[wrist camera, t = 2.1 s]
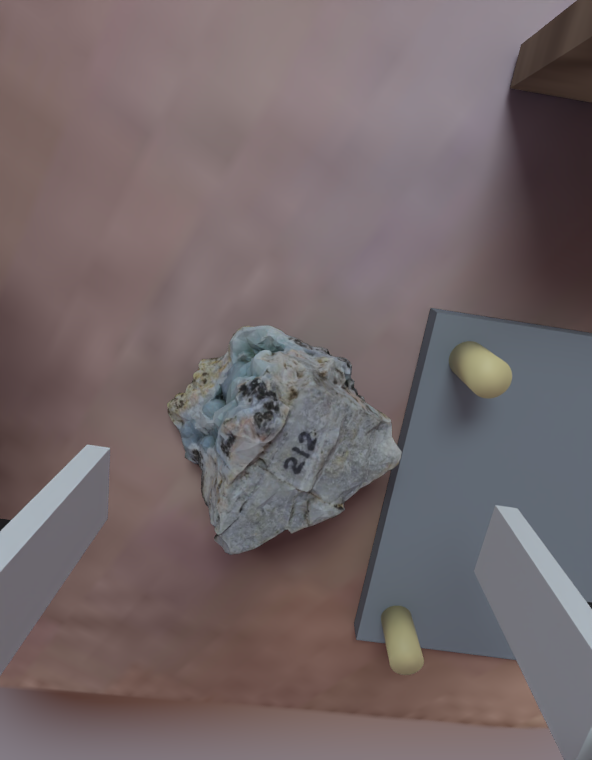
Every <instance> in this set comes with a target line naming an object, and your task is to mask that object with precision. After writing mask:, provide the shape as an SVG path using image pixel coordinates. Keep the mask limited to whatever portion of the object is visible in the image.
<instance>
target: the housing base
mask: <svg viewBox="0 0 592 760" xmlns="http://www.w3.org/2000/svg"><path fill="white" fill-rule="evenodd" d="M397 446H398V448H399V449H400V450H401V451H402V454H401V459H400V461H399V464H398V465H397V466H395V467H394V468H393V469H392V470H391V474H390V478H389V482H388V486H387V490H386V494H385V499H384V503H383V507H382V511H381V515H380V519H379V523H378V527H377V532H376V536H375V540H374V544H373V548H372V552H371V556H370V560H369V565H368V569H367V573H366V577H365V581H364V585H363V589H362V593H361V598H360V602H359V606H358V610H357V614H356V618H355V622H354V626H355V634H356V640H363V641H371V642H379V643H386V648H387V653H388V658H389V663H390V667H391V668H392V670H393V671H394V672H396V673H398V674H401V675H411V674H414V673H416V672H418V671H419V670H420V669H421V668H422V666H423V664H424V659H423V655H422V651H421V648H426V649H434V650H442V651H450V652H458V653H465V654H473V655H481V656H489V657H497V658H505V659H513V660H516V658H515V656H514V654H513V652H512V650H511V648H510V646H509V644H508V642H507V640H506V637H505V635H504V633H503V631H502V629H501V627H500V625H499V623H498V621H497V619H496V616H495V614H494V612H493V610H492V608H491V606H490V604H489V602H488V600H487V598H486V596H485V593H484V591H483V589H482V587H481V585H480V583H479V581H478V579H477V577H476V575H475V573H474V570H475V566H476V563H477V560H478V557H479V554H480V551H481V548H482V545H483V542H484V539H485V536H486V532H487V529H488V526H489V523H490V520H491V517H492V514H493V511H494V508H495V505H499V506H505V507H512V508H518V510H519V511H520V512H521V514H522V515H523V517H524V518H525V519H526V521H527V522H528V523H529V525H530V526H531V527H532V529H533V530H534V531H535V533H536V534H537V536H538V537H539V538H540V540H541V541H542V542H543V544H544V545H545V546H546V548H547V549H548V550H549V552H550V553H551V555H552V556H553V557H554V559H555V560H556V561H557V563H558V564H559V565H560V567H561V568H562V569H563V571H564V572H565V574H566V575H567V576H568V578H569V579H570V580H571V582H572V583H573V584H574V586H575V587H576V588H577V590H578V591H579V592H580V594H581V595H582V597H583V598H584V599H585V601H586V602H592V333H588V332H582V331H575V330H569V329H562V328H556V327H549V326H543V325H537V324H530V323H524V322H517V321H511V320H504V319H498V318H492V317H485V316H479V315H472V314H466V313H459V312H453V311H446V310H440V309H434V308H431V309H430V313H429V317H428V321H427V325H426V330H425V334H424V338H423V342H422V346H421V350H420V354H419V358H418V363H417V367H416V371H415V375H414V379H413V383H412V387H411V391H410V396H409V400H408V404H407V408H406V412H405V416H404V420H403V424H402V428H401V433H400V437H399V441H398V445H397Z"/></svg>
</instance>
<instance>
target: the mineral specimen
mask: <svg viewBox="0 0 592 760" xmlns="http://www.w3.org/2000/svg"><path fill="white" fill-rule="evenodd" d="M198 366H199V369H198V371H197V372H195V373H194V375H193V381H192V384H189V385H188V386H187V389H186V393H179V394H177V395H176V396H175V398H174V399H172V400H171V401H169V403H168V404H167V406H168V414H169V416H170V418H171V420H172V422H173V423H174V424H175V425H176V426H177V429H178V430H179V432H180V434H181V438H182V443H183V446H184V449H185V452H186V453H185V458H186V459H188V460H190V461H191V462H193V463H194V464H199V467H200V468H201V470H202V477H201V492H202V497H203V498H204V501H205V504H206V505H207V506H208V508H209V514H210V520H211V524H212V525H213V526H215V532H216V536H215V537H214V540H215V541H216V542H217V543H218V544H219V545H220V546H222V547H223V549H224V551H225V552H226V553H228V554H231V555H232V554H239V553H242V552H245V551H248V550H252V549H255V548H257V547H259V546H260V545H262V544H263V543H265V542H267V541H268V540H270V539H272V538H274V537H275V536H277V535H278V534H280V533H281V532H283V531H284V530H287V529H288V530H289V531H290V532H291V533H294V532H296V531H298V530H301V529H303V528H305V527H309V526H313V525H316V524H318V523H320V522H322V521H325V520H327V519H330V518H333V517H335V516H337V515H338V514H340V513H341V512H343V511H344V510H345V508H344V502H345V501H346V500H348V499H349V498H350V497H351V496H353V495H354V494H355V493H356V492H357V491H358V490H359V489H360V488H362V487H364V486H366V485H368V484H370V483H371V482H372V481H373V480H375V479H377V478H379V477H381V476H383V475H384V474H385V473H386V472H387V471H389V470H391V469H393V468H394V467H395V466H397V465H398V464H399V461H400V459H401V454H402V451H401V450H400V449H399V448H398V446H397V445H396V444H395V442H394V440H393V438H392V425H391V420H390V419H389V418H388V417H387V416H386V415H384V414H383V413H381V412H379V411H378V410H376V409H374V408H373V407H371V406H370V405H368V404H367V403H366V402H365V400H364V397H362V396H360V395H358V393H357V390H356V389H355V388H354V381H353V379H351V371H352V365H351V364H350V362H349V361H348V360H347V359H346V358H341V357H334V356H332V355H330V354H329V351H328V349H326V348H322V347H312V346H310V345H308V344H306V343H304V342H303V341H301V340H299V339H297V338H294V337H291V336H288V335H285V334H284V333H283V332H282V331H281V330H279V329H276V328H274V327H272V326H257V327H252V326H243V327H241V328H240V329H238V330H237V332H236V333H235V334H233V337H232V339H231V341H230V343H229V345H228V352H227V353H226V354H225V355H224V356H222V357H220V358H211V359H202V360H201V361H200V363H199V365H198Z"/></svg>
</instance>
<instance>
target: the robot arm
mask: <svg viewBox="0 0 592 760" xmlns="http://www.w3.org/2000/svg"><path fill="white" fill-rule="evenodd" d="M109 466H110V448H107V447H100V446H93V445H86V446H85V447H84V448H83V449H82V450H81V451H80V452H79V453H78V454H77V455H76V456H75V457H74V458H73V459H72V460H71V461H70V462H69V463H68V464H67V465H66V466H65V467H64V468H63V469H62V470H61V471H60V472H59V473H58V474H57V475H56V476H55V477H54V478H53V479H52V480H51V481H50V482H49V483H48V484H47V485H46V486H45V487H44V488H43V489H42V490H41V491H40V492H39V493H38V494H37V495H36V496H35V497H34V498H33V499H32V500H31V501H30V502H29V503H28V504H27V505H26V506H25V507H24V508H23V509H22V510H21V511H20V512H19V513H18V514H17V515H16V516H15V517H14V518H13V519H12V520H6V519H0V675H1V674H2V672H3V671H4V669H5V668H6V667H7V665H8V664H9V662H10V661H11V659H12V658H13V656H14V655H15V653H16V652H17V650H18V649H19V647H20V646H21V645H22V643H23V642H24V640H25V639H26V637H27V636H28V634H29V633H30V631H31V630H32V628H33V627H34V626H35V624H36V623H37V621H38V620H39V618H40V617H41V615H42V614H43V612H44V611H45V609H46V608H47V606H48V605H49V604H50V602H51V601H52V599H53V598H54V596H55V595H56V593H57V592H58V590H59V589H60V587H61V586H62V584H63V583H64V582H65V580H66V579H67V577H68V576H69V574H70V573H71V571H72V570H73V568H74V567H75V565H76V564H77V563H78V561H79V560H80V558H81V557H82V555H83V554H84V552H85V551H86V549H87V548H88V546H89V545H90V543H91V542H92V541H93V539H94V538H95V536H96V535H97V533H98V532H99V530H100V529H101V527H102V526H103V524H104V523H105V521H106V520H107V519H108V494H109ZM474 573H475V575H476V577H477V579H478V581H479V583H480V585H481V587H482V589H483V591H484V593H485V596H486V598H487V600H488V602H489V604H490V606H491V608H492V610H493V612H494V614H495V616H496V619H497V621H498V623H499V625H500V627H501V629H502V631H503V633H504V635H505V637H506V640H507V642H508V644H509V646H510V648H511V650H512V652H513V654H514V656H515V658H516V660H517V663H518V665H519V667H520V669H521V671H522V673H523V675H524V677H525V679H526V681H527V683H528V686H529V688H530V690H531V692H532V694H533V696H534V698H535V700H536V702H537V704H538V706H539V709H540V711H541V713H542V715H543V717H544V719H545V721H546V723H547V725H548V727H549V729H550V732H551V734H552V736H553V738H554V740H555V742H556V744H557V746H558V748H559V750H560V753H561V755H562V757H563V759H564V760H592V602H586V601H585V599H584V598H583V597H582V595H581V594H580V592H579V591H578V590H577V588H576V587H575V586H574V584H573V583H572V582H571V580H570V579H569V578H568V576H567V575H566V574H565V572H564V571H563V569H562V568H561V567H560V565H559V564H558V563H557V561H556V560H555V559H554V557H553V556H552V555H551V553H550V552H549V550H548V549H547V548H546V546H545V545H544V544H543V542H542V541H541V540H540V538H539V537H538V536H537V534H536V533H535V531H534V530H533V529H532V527H531V526H530V525H529V523H528V522H527V521H526V519H525V518H524V517H523V515H522V514H521V512H520V511H519V510H518V508H512V507H505V506H499V505H495V508H494V511H493V514H492V517H491V520H490V523H489V526H488V529H487V532H486V536H485V539H484V542H483V545H482V548H481V551H480V554H479V557H478V560H477V563H476V566H475V570H474Z"/></svg>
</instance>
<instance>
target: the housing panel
mask: <svg viewBox="0 0 592 760" xmlns="http://www.w3.org/2000/svg"><path fill="white" fill-rule="evenodd" d="M510 88H511V89H517V90H523V91H529V92H534V93H540V94H546V95H552V96H557V97H563V98H569V99H574V100H580V101H586V102H592V0H577V1H576V2H574V3H573V4H572V5H571V6H569V7H568V8H567V9H566V10H564V11H563V12H562V13H561V14H559V15H558V16H557V17H555V18H554V19H553V20H552V21H550V22H549V23H548V24H547V25H545V26H544V27H543V28H542V29H540V30H539V31H538V32H537V33H535V34H534V35H533V36H532V37H530V38H529V39H528V40H527V41H525V42H524V43H523V44H521V47H520V51H519V55H518V59H517V63H516V67H515V71H514V75H513V78H512V82H511V86H510Z"/></svg>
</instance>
